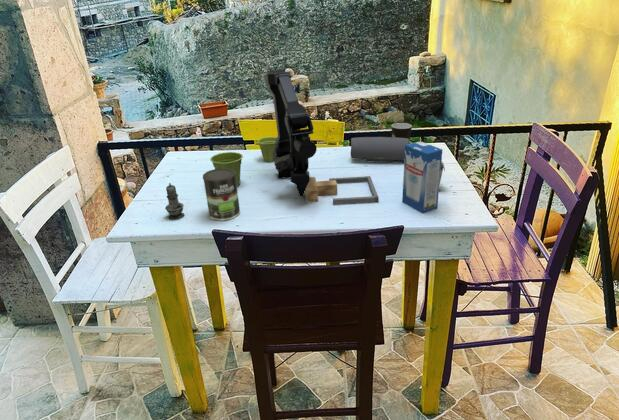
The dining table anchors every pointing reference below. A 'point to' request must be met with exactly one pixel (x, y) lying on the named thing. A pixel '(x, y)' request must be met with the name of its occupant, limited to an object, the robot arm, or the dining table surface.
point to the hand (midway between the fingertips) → (301, 190)
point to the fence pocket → (355, 200)
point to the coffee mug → (401, 130)
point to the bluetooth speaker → (378, 148)
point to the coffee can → (221, 194)
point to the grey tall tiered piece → (174, 204)
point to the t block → (320, 189)
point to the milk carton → (421, 176)
